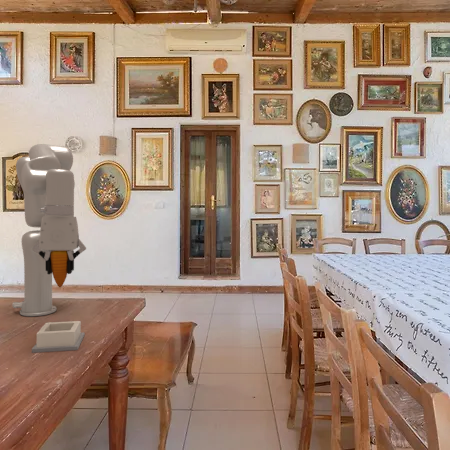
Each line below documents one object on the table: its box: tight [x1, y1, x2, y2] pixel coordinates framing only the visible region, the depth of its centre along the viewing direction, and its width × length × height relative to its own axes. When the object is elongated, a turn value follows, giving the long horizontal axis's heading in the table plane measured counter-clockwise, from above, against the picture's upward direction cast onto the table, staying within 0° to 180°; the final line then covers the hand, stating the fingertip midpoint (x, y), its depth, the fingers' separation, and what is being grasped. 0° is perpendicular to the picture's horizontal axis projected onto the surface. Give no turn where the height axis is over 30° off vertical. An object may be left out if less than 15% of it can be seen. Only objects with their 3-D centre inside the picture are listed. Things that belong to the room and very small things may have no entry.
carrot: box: [51, 251, 69, 288], centre depth 106 cm, size 5×5×15 cm
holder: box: [31, 320, 85, 354], centre depth 107 cm, size 12×12×5 cm
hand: (59, 272), depth 106 cm, fingers closed on carrot, 4 cm apart
